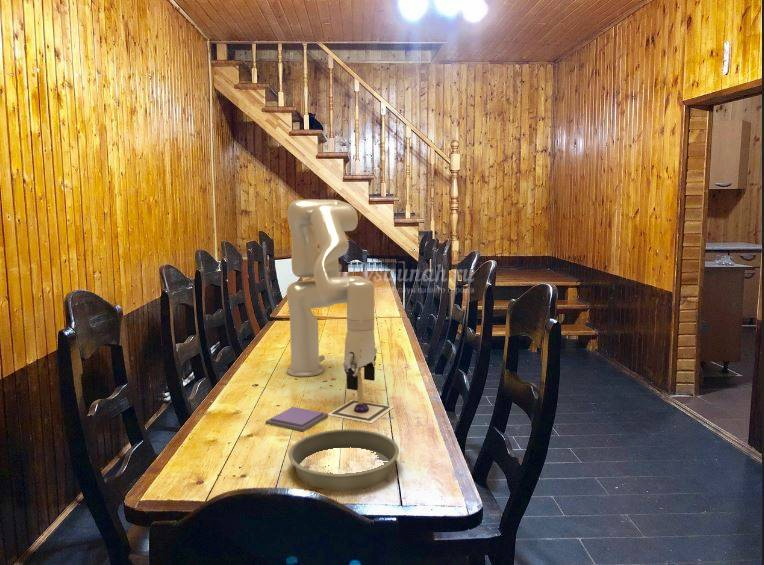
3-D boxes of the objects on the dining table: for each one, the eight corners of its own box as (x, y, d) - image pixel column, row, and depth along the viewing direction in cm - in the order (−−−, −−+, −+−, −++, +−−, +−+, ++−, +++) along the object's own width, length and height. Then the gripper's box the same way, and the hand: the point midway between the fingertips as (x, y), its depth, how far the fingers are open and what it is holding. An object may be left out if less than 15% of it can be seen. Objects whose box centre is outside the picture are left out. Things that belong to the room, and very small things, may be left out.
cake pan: (320, 440, 152) (320, 423, 152) (413, 455, 144) (413, 437, 143) (267, 483, 130) (266, 463, 129) (374, 504, 121) (374, 482, 120)
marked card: (352, 400, 181) (352, 398, 181) (394, 407, 175) (394, 406, 175) (326, 415, 169) (326, 413, 169) (371, 423, 163) (371, 422, 163)
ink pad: (292, 409, 173) (292, 405, 173) (328, 416, 168) (327, 411, 168) (265, 423, 163) (265, 418, 162) (303, 431, 157) (303, 426, 157)
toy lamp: (354, 413, 169) (350, 355, 167) (350, 409, 174) (346, 351, 172) (370, 411, 170) (367, 353, 169) (366, 406, 175) (363, 349, 173)
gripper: (363, 317, 178) (364, 374, 180) (332, 329, 163) (333, 391, 165) (386, 320, 174) (386, 378, 177) (357, 332, 159) (357, 395, 162)
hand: (361, 384), depth 171 cm, fingers open, 9 cm apart
